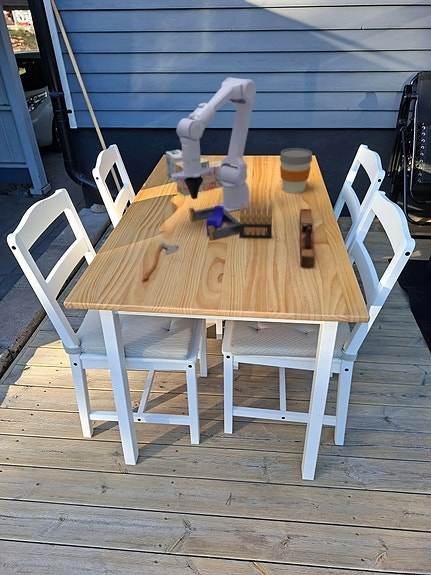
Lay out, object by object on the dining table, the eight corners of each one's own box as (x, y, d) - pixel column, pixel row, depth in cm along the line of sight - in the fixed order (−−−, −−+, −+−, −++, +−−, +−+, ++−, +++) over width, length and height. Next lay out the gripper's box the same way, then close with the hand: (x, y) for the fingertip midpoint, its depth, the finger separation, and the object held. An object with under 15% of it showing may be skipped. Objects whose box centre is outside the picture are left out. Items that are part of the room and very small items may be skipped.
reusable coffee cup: (309, 184, 179) (312, 148, 171) (309, 195, 169) (312, 157, 161) (279, 183, 181) (281, 147, 173) (277, 194, 171) (279, 157, 163)
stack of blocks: (220, 181, 186) (219, 152, 179) (228, 185, 182) (227, 156, 175) (177, 192, 177) (174, 162, 170) (184, 196, 172) (182, 166, 165)
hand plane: (318, 269, 124) (322, 238, 118) (300, 268, 124) (303, 238, 119) (310, 219, 152) (313, 192, 146) (295, 219, 152) (297, 192, 147)
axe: (164, 283, 119) (163, 278, 119) (141, 283, 120) (140, 278, 120) (180, 246, 138) (179, 241, 137) (160, 246, 139) (160, 241, 138)
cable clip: (211, 221, 153) (211, 205, 149) (223, 222, 152) (223, 206, 148) (202, 236, 143) (202, 219, 140) (215, 237, 142) (215, 220, 139)
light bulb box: (167, 175, 194) (165, 151, 188) (181, 172, 196) (179, 149, 190) (175, 182, 186) (173, 157, 180) (189, 179, 188) (188, 155, 182)
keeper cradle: (218, 213, 158) (218, 201, 155) (242, 232, 144) (242, 220, 141) (189, 219, 153) (188, 208, 151) (210, 240, 140) (210, 227, 137)
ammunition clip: (271, 236, 141) (273, 202, 135) (271, 238, 140) (273, 204, 133) (239, 235, 142) (239, 201, 136) (239, 238, 141) (239, 204, 134)
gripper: (175, 165, 132) (178, 206, 139) (217, 157, 137) (218, 197, 144) (167, 159, 137) (170, 199, 144) (207, 152, 142) (209, 191, 150)
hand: (194, 198), depth 145 cm, fingers closed
